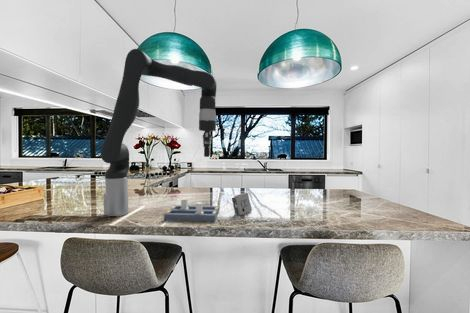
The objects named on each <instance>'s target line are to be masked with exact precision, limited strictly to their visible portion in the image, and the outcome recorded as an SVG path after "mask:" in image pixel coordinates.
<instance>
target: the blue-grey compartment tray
mask: <svg viewBox="0 0 470 313" xmlns="http://www.w3.org/2000/svg"><path fill="white" fill-rule="evenodd" d="M188 207H189V209H181V205H176V204H175V205H173V206H172V207H171V208H169V209H168V210H167V211H166V212H165V213H164V214H163V220H164V221H177V220H192V221H191V222H216V219H217V217H218V215H219V212H220V206H218V205H217V206H216V205H202V212H204V214H195V213H196V205H188Z"/></svg>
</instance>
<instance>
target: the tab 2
mask: <svg viewBox="0 0 470 313" xmlns="http://www.w3.org/2000/svg"><path fill="white" fill-rule="evenodd" d="M195 206H196V213H195V214H204V212H202V206H203V202H199V201H197V202H195Z"/></svg>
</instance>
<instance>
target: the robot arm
mask: <svg viewBox="0 0 470 313" xmlns="http://www.w3.org/2000/svg"><path fill="white" fill-rule="evenodd" d="M123 67H124V68H123V74H122V80H121V83H120V87H119V91H118V95H117V98H116V101H115V105H114V108H113V113H112V117H111V120H110V124H109V126H108V130H107V134H106V135H105V138H104V140H103V142H102V143H103V144H102V145H101V149H100V158H101V159H102V161H103V162H104V163H106V164H109V167H108V169H107V170H106V171H105V172H104V186H105V193H104V194H103V215H104V216H106V215H107V217H110V216H116V217H120V216H121V217H122V216H124V215H125V216H126V215H127V214H128V213H129V191H128V190H129V189H128V188H129V186H128V185H129V184H128V173H129V170H130V150H129V148H128V146H127V145H126V144H124V143H123V141H124V138H125V135H126V133H127V132H128V130H129V128H130V127H131V126H132V125H133V123H134V121H135V120H136V117H137V115H138V111H139V108H140V92H139V91H140V90H139V86H140V80H141V77H142V76H146V77H155V78H161V79H166V80H169V81H172V82H175V83H179V84H181V85H186V86H189V87H193V86H194V87H198V88H200V89H201V97H200V99H199V112H198V113H199V114H198V131H201V132H203V134H202V144H203V146H202V147H203V149H204V151H203V156H204V157H206V158H209V157H210V155H211V144H212V139H213V138H212V136H213V135H212V134H211V132H215V131H216V128H217V125H216V124H217V114H216V95H217V80H216V79H215V77H214V75H213V74H212V73H209V72H206V71H203V70H195V69H191V68H186V67H184V66H180V65H174V64H173V65H171V64H165V63H162V62H158V61H156V60H154V59H152V58H150V56H148V55H147V54H146V53H145V52H144V51H142V50H141V49H139V48H132V49H131V50H129V52H128V53H127V55H126V57H125V62H124V66H123Z"/></svg>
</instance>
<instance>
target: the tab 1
mask: <svg viewBox="0 0 470 313" xmlns="http://www.w3.org/2000/svg"><path fill="white" fill-rule="evenodd" d="M188 201H189V200H188V198H187V197H186V198H181V200H180V206H181V209H189V207H188V206H189V205H188V204H189V203H188Z"/></svg>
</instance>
